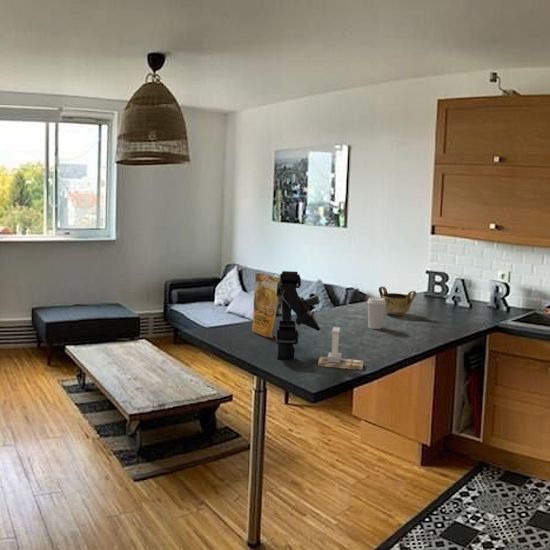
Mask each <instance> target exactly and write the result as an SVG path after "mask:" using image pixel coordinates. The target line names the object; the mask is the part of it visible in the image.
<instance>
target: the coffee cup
mask: <svg viewBox="0 0 550 550" xmlns="http://www.w3.org/2000/svg"><path fill="white" fill-rule="evenodd" d="M366 302H367V320H368V321H367V323H368V324H367V325H368V326H367V328H369V329H371V330H372V329H373V330H380V329H382V324H383V319H384V313H385V311H384V307H385V304H386V302H385V299H383V298H381V297H376V296H375V297H369V298H368V300H367V301H366Z"/></svg>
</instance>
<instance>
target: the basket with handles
mask: <svg viewBox="0 0 550 550" xmlns="http://www.w3.org/2000/svg"><path fill="white" fill-rule="evenodd" d="M378 292H379V295H380V298H383V299H385V302H386V304H385V307H384V312H385V313H387V314H389V315H391V316H397V317H398V316H402V315H405V314H406V313H408V311H409V310H410V308H411V305H412V302H414V299H415V298H416V296H417V290H416V291H415V290H411V291H409V292H408V293H407V294H403V293H394V292H390V293H389V292H388V290H387V288H386V286H379V288H378ZM411 294H413V295H412V297H411Z"/></svg>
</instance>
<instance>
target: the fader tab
mask: <svg viewBox="0 0 550 550" xmlns="http://www.w3.org/2000/svg"><path fill="white" fill-rule="evenodd" d="M340 332H341V327H337V326H333V327H332V331H331V335H332V340H331V341H332V342H331V343H332V344H331V352H330V351H329V352H328V355H327V356H326V357H327V362H336V363H340V360H341V359H342V352H339V337H340V335H339V334H340Z"/></svg>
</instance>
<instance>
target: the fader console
mask: <svg viewBox="0 0 550 550" xmlns="http://www.w3.org/2000/svg"><path fill="white" fill-rule="evenodd" d="M327 357H328V356H320V357H319V358H318V363H317V366H318V367H325V368H326V367H327V368H328V367H329V368H337V369H346V368H347V369H349V370H356V369H358V370H357V371H359V370H360V371H363V370H362V369H363V368H364V360H360V359H359V360H358V359H352V358H351V359H348V358H341V360H340V363H336V362H327ZM347 369H346V370H347Z"/></svg>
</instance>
